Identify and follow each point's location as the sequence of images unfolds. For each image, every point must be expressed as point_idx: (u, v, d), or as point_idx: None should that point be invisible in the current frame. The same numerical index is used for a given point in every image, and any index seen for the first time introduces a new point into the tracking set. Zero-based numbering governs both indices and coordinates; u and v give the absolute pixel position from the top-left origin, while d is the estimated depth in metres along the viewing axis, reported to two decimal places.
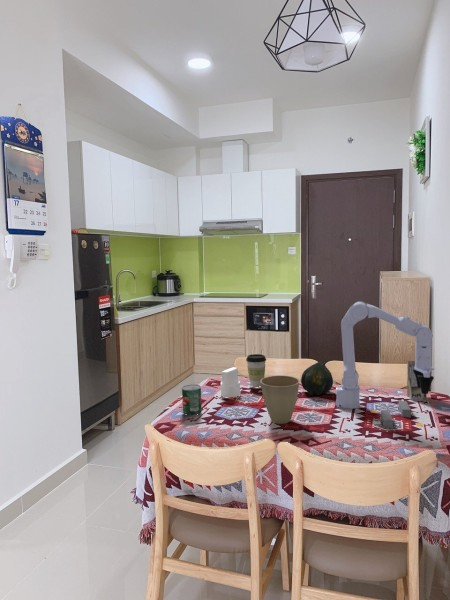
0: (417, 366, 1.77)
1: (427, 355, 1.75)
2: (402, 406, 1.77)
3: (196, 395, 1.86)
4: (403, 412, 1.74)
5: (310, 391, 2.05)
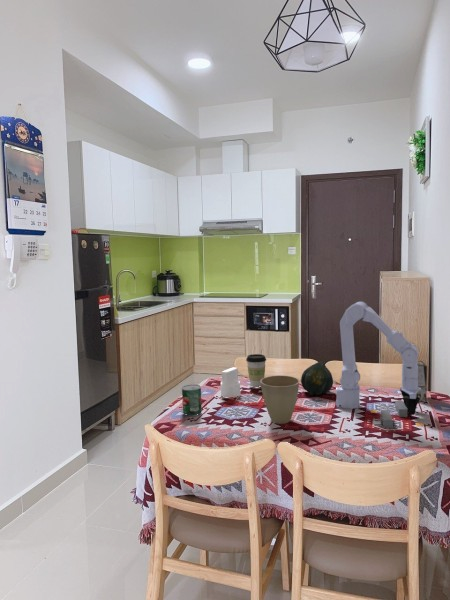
0: (404, 387, 1.76)
1: (412, 376, 1.74)
2: (399, 406, 1.77)
3: (196, 395, 1.86)
4: (400, 412, 1.74)
5: (310, 391, 2.05)
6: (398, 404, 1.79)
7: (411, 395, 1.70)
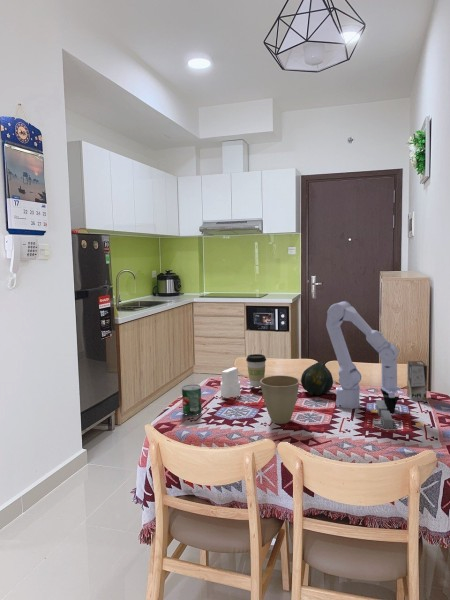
0: (383, 386, 1.77)
1: (390, 375, 1.75)
2: (379, 405, 1.79)
3: (196, 395, 1.86)
4: (379, 411, 1.76)
5: (310, 391, 2.05)
6: (378, 403, 1.81)
7: (390, 394, 1.72)
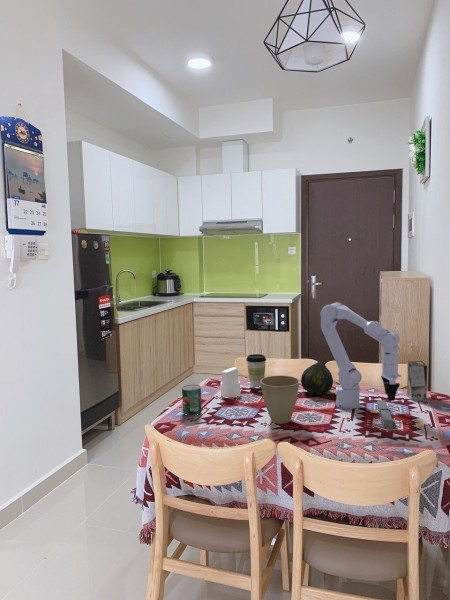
0: (384, 373, 1.76)
1: (391, 362, 1.74)
2: (380, 405, 1.78)
3: (196, 395, 1.86)
4: None
5: (310, 391, 2.05)
6: (380, 403, 1.81)
7: (391, 381, 1.71)
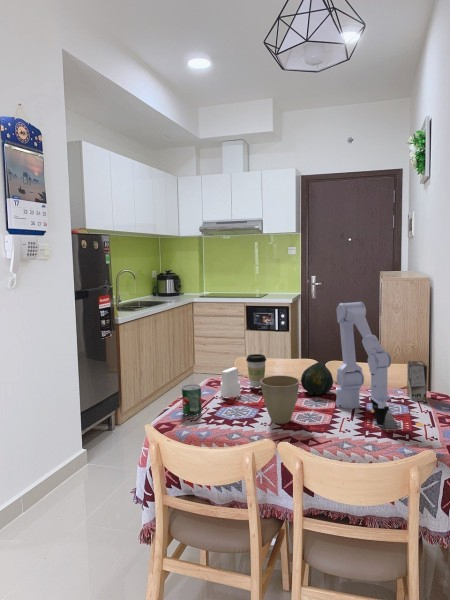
0: (372, 395, 1.67)
1: (375, 383, 1.66)
2: None
3: (196, 395, 1.86)
4: None
5: (310, 391, 2.05)
6: None
7: (379, 404, 1.61)
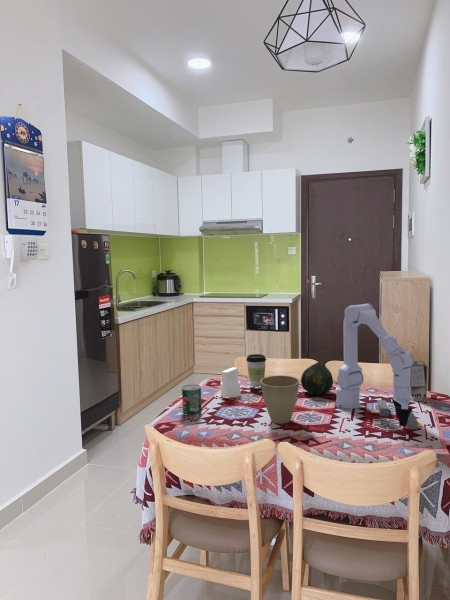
0: (395, 396, 1.65)
1: (400, 384, 1.63)
2: (380, 405, 1.78)
3: (196, 395, 1.86)
4: (381, 411, 1.75)
5: (310, 391, 2.05)
6: (380, 403, 1.81)
7: (403, 405, 1.60)
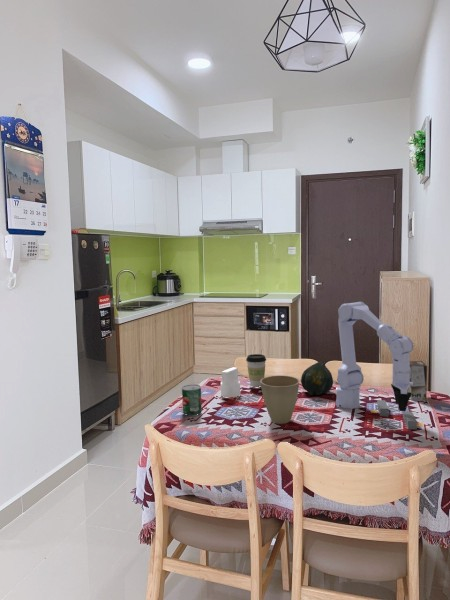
0: (394, 381, 1.65)
1: (399, 369, 1.63)
2: (380, 405, 1.78)
3: (196, 395, 1.86)
4: (381, 411, 1.75)
5: (310, 391, 2.05)
6: (380, 403, 1.81)
7: (402, 390, 1.59)
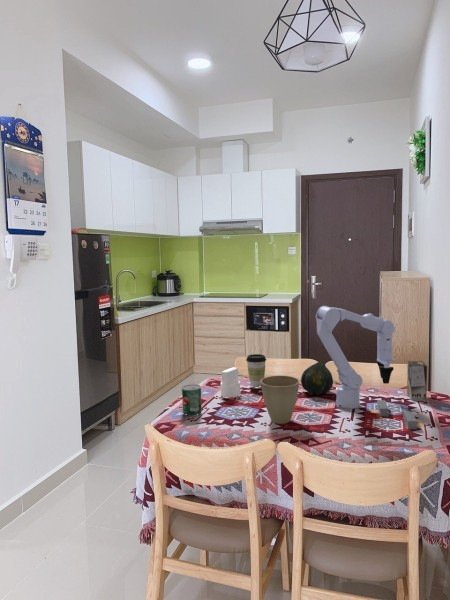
0: (379, 358, 1.88)
1: (390, 347, 1.87)
2: (380, 405, 1.78)
3: (196, 395, 1.86)
4: (381, 411, 1.75)
5: (310, 391, 2.05)
6: (380, 403, 1.81)
7: (385, 364, 1.83)
